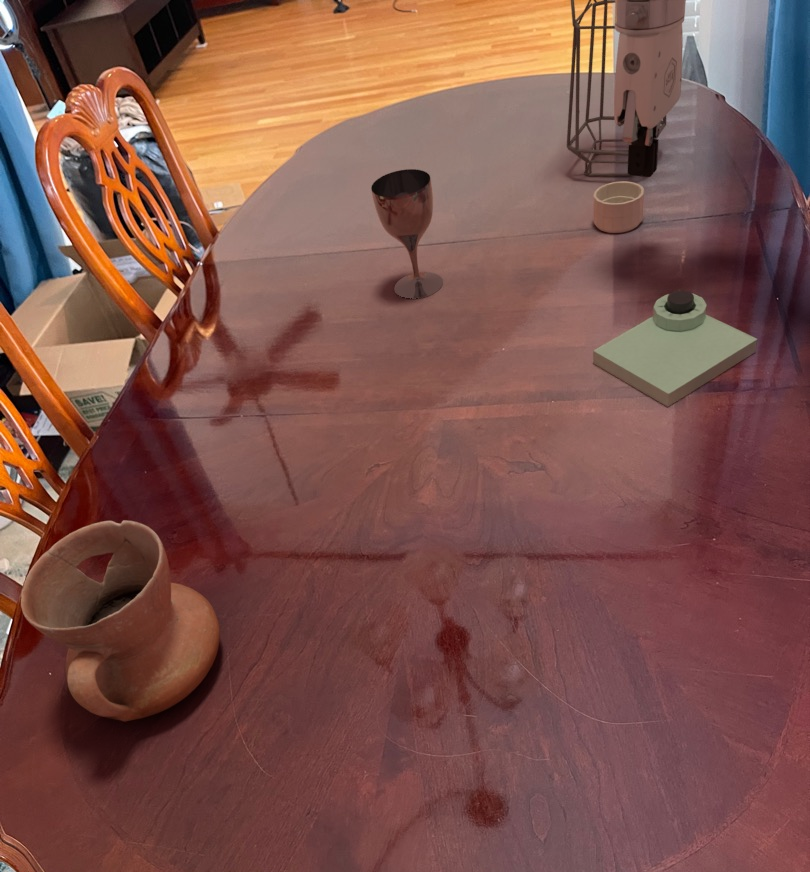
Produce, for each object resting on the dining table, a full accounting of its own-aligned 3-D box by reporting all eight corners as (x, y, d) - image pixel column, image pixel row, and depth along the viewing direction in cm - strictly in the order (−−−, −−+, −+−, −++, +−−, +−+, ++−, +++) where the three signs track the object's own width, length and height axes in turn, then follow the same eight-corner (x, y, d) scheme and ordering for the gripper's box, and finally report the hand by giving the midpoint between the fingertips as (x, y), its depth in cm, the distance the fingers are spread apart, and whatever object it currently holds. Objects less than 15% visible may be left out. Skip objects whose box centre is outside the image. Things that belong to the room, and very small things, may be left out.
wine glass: (421, 265, 121) (404, 164, 111) (457, 281, 117) (443, 177, 106) (380, 289, 119) (359, 188, 108) (415, 306, 114) (396, 202, 103)
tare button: (679, 298, 99) (680, 287, 98) (698, 307, 97) (699, 296, 96) (661, 309, 98) (662, 297, 97) (680, 318, 97) (681, 306, 95)
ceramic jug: (115, 599, 85) (50, 503, 75) (246, 594, 83) (197, 494, 72) (50, 756, 73) (-38, 669, 63) (201, 757, 71) (134, 665, 60)
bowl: (618, 206, 124) (619, 177, 120) (652, 220, 119) (654, 189, 116) (583, 224, 122) (583, 195, 118) (617, 239, 117) (617, 209, 114)
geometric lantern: (584, 143, 140) (582, -110, 115) (677, 145, 134) (697, -123, 109) (554, 185, 132) (544, -79, 106) (652, 190, 125) (667, -91, 100)
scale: (676, 311, 103) (679, 286, 100) (758, 350, 95) (762, 325, 92) (590, 362, 99) (590, 337, 96) (667, 407, 91) (669, 382, 88)
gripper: (657, 33, 85) (648, 204, 98) (707, -15, 92) (692, 150, 106) (590, 32, 88) (589, 197, 102) (643, -14, 96) (636, 145, 109)
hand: (642, 172), depth 104 cm, fingers closed
